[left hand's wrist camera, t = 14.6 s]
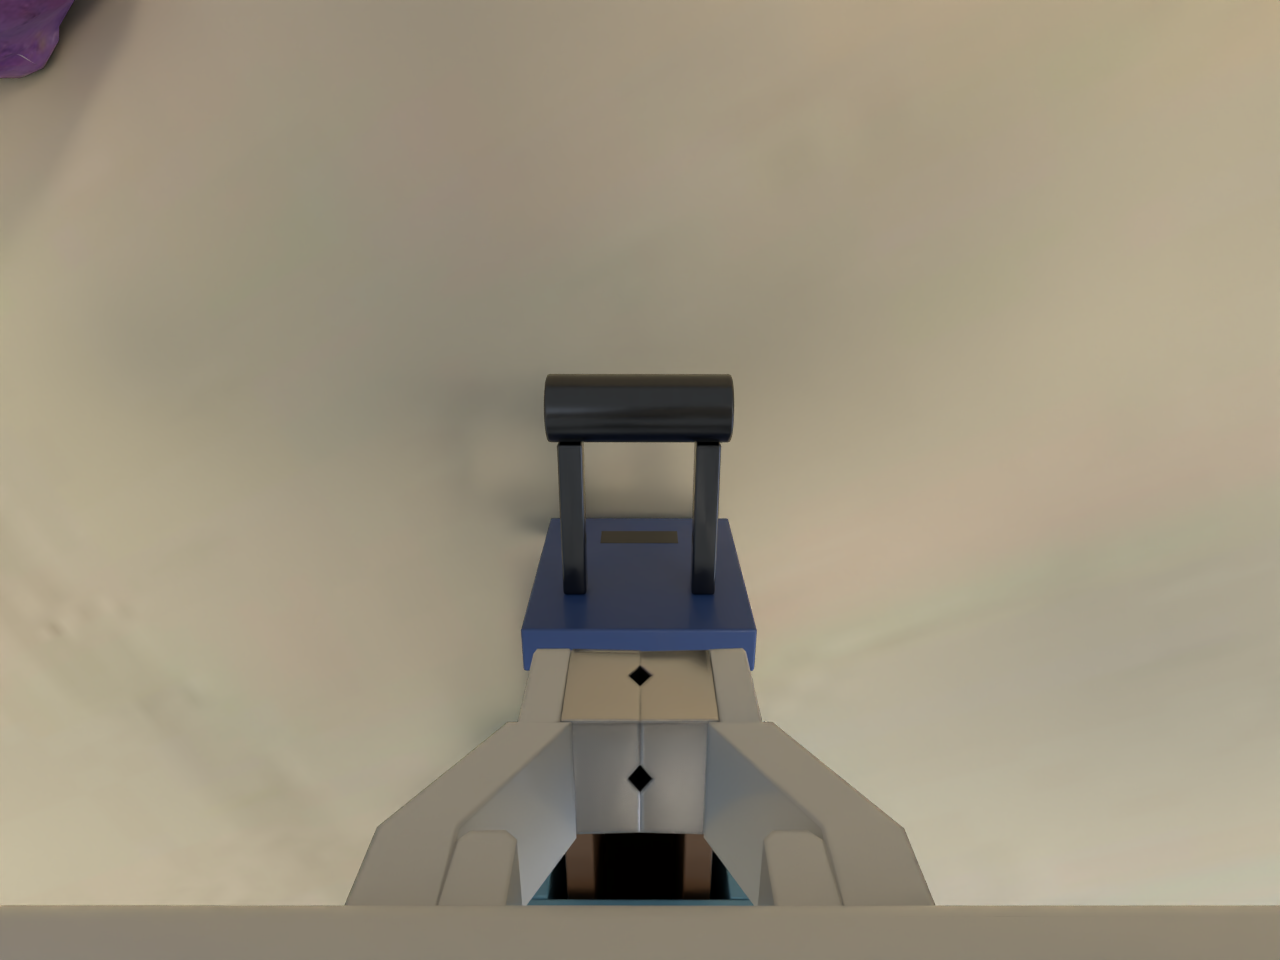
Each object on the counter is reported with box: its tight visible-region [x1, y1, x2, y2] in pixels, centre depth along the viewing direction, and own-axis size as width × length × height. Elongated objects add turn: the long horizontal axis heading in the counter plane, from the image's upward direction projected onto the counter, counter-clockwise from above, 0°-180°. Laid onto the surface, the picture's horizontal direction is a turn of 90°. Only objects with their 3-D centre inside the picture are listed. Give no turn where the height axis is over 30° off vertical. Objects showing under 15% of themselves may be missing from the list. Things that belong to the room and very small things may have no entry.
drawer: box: [521, 374, 757, 900], centre depth 23 cm, size 25×6×6 cm, turn 0°
